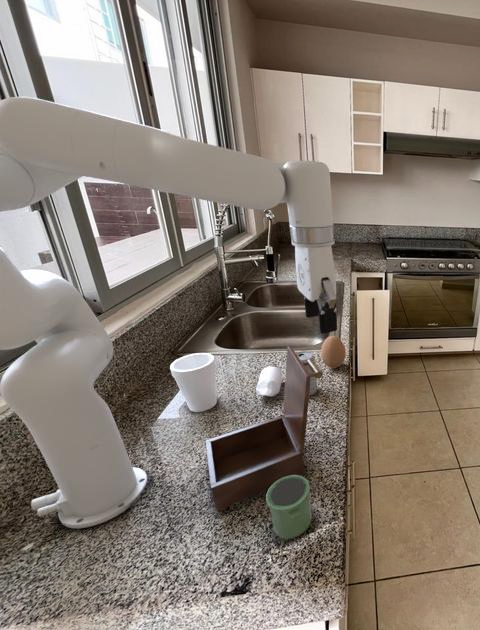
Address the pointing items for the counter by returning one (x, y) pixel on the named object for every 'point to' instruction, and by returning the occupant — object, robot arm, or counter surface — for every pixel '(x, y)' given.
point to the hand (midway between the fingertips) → (320, 323)
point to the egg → (333, 352)
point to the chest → (251, 460)
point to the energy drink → (304, 357)
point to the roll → (269, 381)
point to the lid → (298, 394)
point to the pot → (289, 506)
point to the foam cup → (196, 380)
